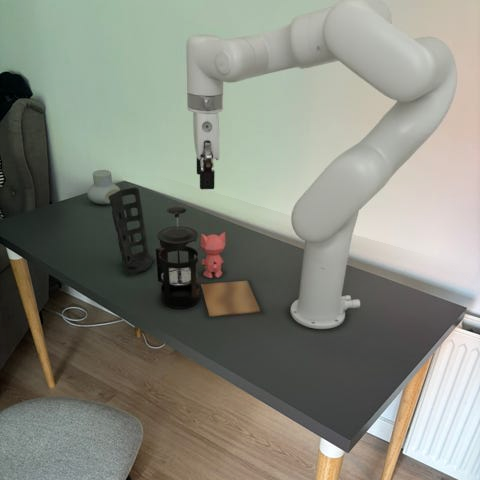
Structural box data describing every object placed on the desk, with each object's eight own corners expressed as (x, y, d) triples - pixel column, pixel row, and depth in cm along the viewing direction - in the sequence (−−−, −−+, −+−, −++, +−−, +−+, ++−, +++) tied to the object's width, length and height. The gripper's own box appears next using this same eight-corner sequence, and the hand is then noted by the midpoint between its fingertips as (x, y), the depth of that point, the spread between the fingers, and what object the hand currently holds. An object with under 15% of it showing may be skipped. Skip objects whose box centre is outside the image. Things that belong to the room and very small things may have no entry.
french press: (210, 298, 123) (209, 207, 110) (184, 315, 117) (180, 221, 104) (173, 282, 129) (169, 195, 116) (147, 298, 122) (139, 207, 109)
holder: (143, 277, 130) (128, 201, 119) (115, 276, 132) (98, 201, 121) (157, 258, 139) (145, 186, 128) (131, 257, 141) (117, 186, 130)
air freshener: (108, 194, 178) (105, 165, 172) (125, 200, 174) (123, 171, 168) (84, 203, 170) (79, 173, 164) (101, 209, 166) (97, 179, 161)
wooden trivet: (247, 282, 130) (247, 280, 130) (260, 312, 119) (260, 310, 119) (200, 285, 128) (200, 284, 128) (209, 316, 117) (209, 314, 116)
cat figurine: (223, 267, 136) (224, 225, 129) (229, 280, 131) (230, 237, 124) (197, 269, 135) (196, 227, 128) (202, 282, 129) (201, 239, 122)
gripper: (227, 111, 101) (225, 194, 111) (218, 93, 115) (217, 168, 125) (189, 111, 100) (191, 195, 110) (185, 93, 114) (186, 169, 124)
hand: (205, 181), depth 117 cm, fingers open, 9 cm apart
